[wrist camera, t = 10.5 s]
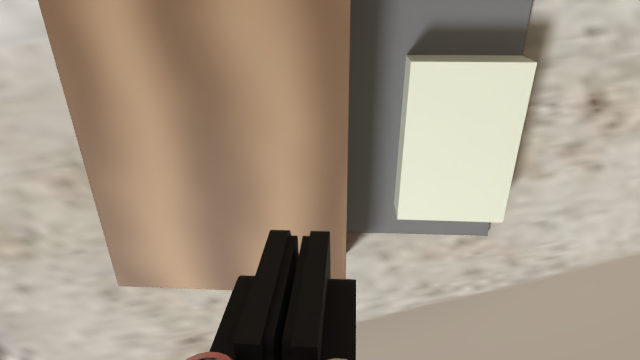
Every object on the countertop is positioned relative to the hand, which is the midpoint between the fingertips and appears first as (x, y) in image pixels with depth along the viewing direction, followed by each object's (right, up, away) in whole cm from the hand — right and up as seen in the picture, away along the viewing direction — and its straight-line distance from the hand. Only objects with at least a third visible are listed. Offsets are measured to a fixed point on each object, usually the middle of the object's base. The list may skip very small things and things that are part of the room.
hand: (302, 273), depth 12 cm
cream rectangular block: (+8, +4, +10) cm, 14 cm away
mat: (+7, +6, +12) cm, 15 cm away
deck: (-5, +8, +12) cm, 15 cm away
